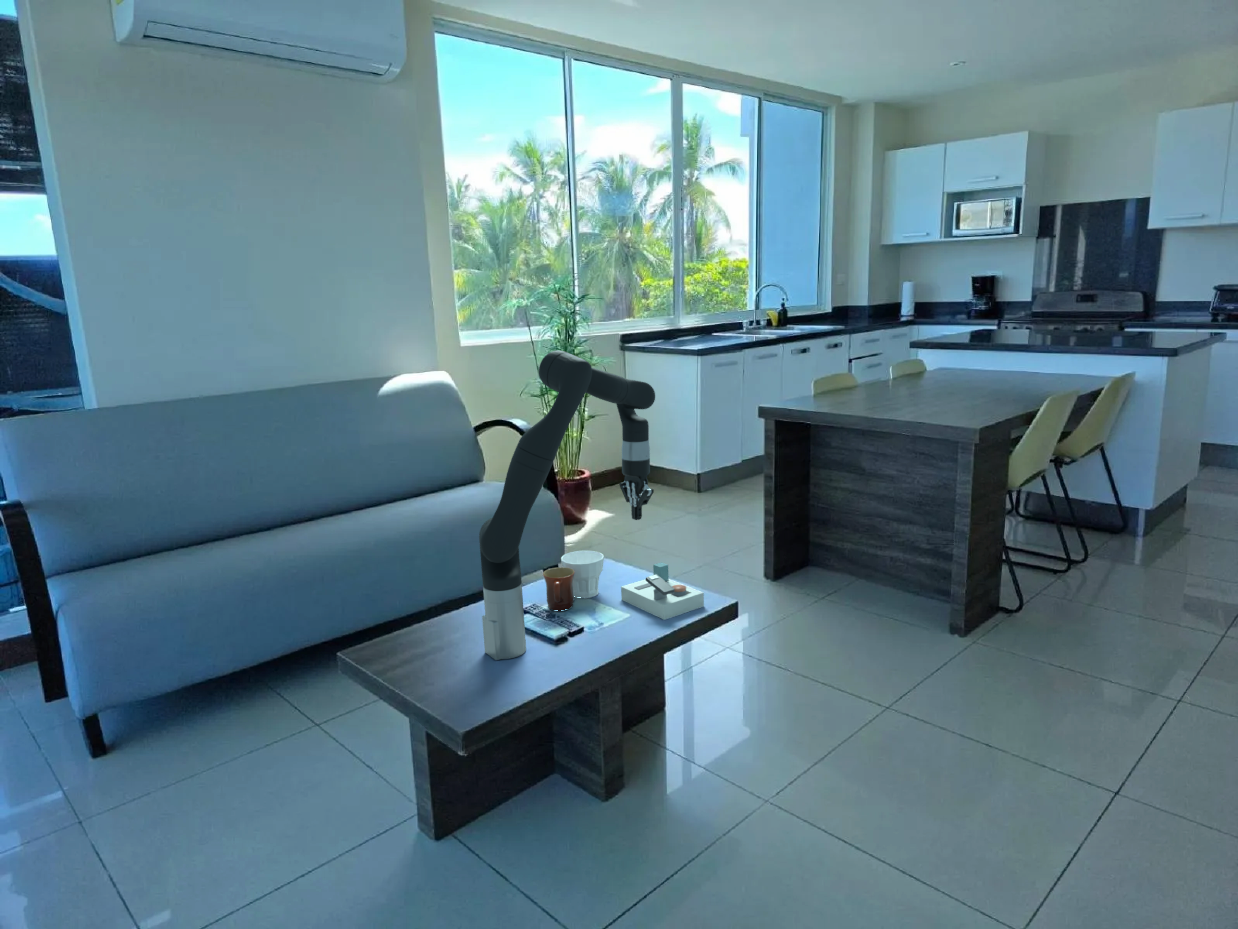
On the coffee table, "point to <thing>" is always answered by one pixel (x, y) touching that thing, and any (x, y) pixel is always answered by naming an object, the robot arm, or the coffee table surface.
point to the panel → (661, 599)
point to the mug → (559, 588)
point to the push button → (679, 590)
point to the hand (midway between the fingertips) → (636, 519)
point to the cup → (584, 571)
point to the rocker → (660, 584)
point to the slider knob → (661, 570)
